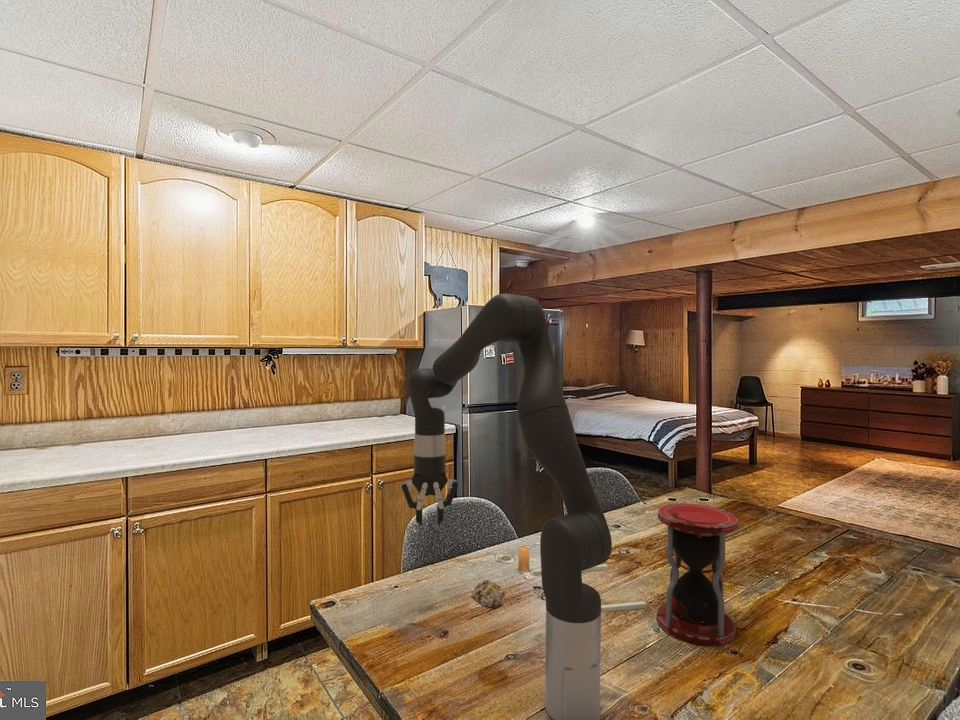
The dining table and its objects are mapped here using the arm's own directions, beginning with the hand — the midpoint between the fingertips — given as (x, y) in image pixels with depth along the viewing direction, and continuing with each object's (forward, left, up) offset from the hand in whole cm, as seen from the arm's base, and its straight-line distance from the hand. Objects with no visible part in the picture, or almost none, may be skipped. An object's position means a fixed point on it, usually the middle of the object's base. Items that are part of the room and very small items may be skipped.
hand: (429, 523), depth 123 cm
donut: (+8, -76, -20) cm, 79 cm away
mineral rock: (0, -15, -20) cm, 24 cm away
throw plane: (0, -38, -19) cm, 42 cm away
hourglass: (-20, -57, -19) cm, 63 cm away
